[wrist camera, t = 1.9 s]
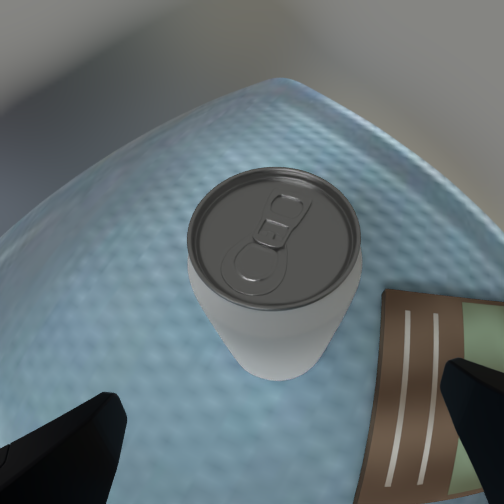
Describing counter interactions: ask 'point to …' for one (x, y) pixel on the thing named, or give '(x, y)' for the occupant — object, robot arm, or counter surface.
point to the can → (275, 267)
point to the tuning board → (424, 396)
